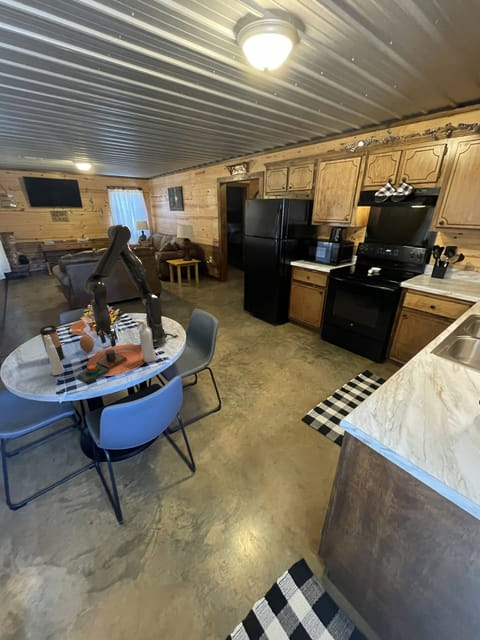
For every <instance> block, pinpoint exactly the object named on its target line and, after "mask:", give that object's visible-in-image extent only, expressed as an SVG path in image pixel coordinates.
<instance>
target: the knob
mask: <svg viewBox="0 0 480 640" xmlns="http://www.w3.org/2000/svg"><path fill="white" fill-rule="evenodd" d="M115 353H116V350H115V349H106V351H104V355H105V357H106V360H107V361H108V362H111V361H114V360H116V355H115Z"/></svg>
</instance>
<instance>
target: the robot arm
mask: <svg viewBox="0 0 480 640" xmlns="http://www.w3.org/2000/svg"><path fill="white" fill-rule="evenodd" d="M107 237H108V239H109V241H110V245H109V247H108V248H107V249H106V251H105V252H104V253H103V254H102V255H101V257H100V258H99V260H98V262H97V264H96V266H95V268H94V270H93V272H92V273H91V274H90V275H89V277H87V279H86V281H85V282H84V285H83V286H84V287H83V288H84V291H85V292H86V293H87V294H91V295H93V299H91V301H90V305H91V309H92V315H93V319H94V323H95V326H94V327H95V328H94V329H95V331H96V332H95V333H96V336H98V337H99V339H100V341H101V344H106V343H107V340H106V338H107V339H109V341H110V345H111V347H112V348H115V347H116V346H117V344H116V341H117V340H118V336H117V332H116V329H115V328H113V329H112V328H111V326H112V324H113V322H112V318H111V313H110V311H109V308H108V303H107V294H108V293H107V287H106V285H105V283H104V282H103V281H105V280H108V279H109V277H110V275H111V273H112V271H113V268H114V266H115V263H117V260H118V258H119V257H120V260H121V262H122V263H123V265H124V268H125V270H126V272H127V274H128V276H129V278H130V280H131V281H132V284H133V285H134V287H135V288H136V289H137V291H138V294H139V297H140V299H141V303H142V305H143V307H144V308H145V312H146V313H145V314H146V316H145V320H146V322H147V324H146V326H148V327H149V328H151V331H152V342H153V348H161V347H163V346H164V345H165V344H166V343H167V341H166V339H167V338H168V336H171V337H173V338H177V337H178V334H175V335H173V334H172V333H167V332H165V329H164V326H163V318H162V317H163V316H162V315H163V311H162V310H163V309H162V302H161V300H160V298H158V296H156V295H155V293H154V292H153V289H152V287H151V286H150V283H149V278H148V274H147V272H146V268H145V267H144V265H143V263H142V261H141V260H140V259H139V258H138V256H137V255H136V254H134V252H133V251H132V249H131V248H130V247H129V244H128V243H129V241H130V240H131V237H132V232H131V229H130V228H129V226H127V225H126V224H115V225H110V226H109V227H108V228H107ZM149 328H148V329H149Z"/></svg>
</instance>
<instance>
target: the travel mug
mask: <svg viewBox="0 0 480 640" xmlns="http://www.w3.org/2000/svg"><path fill="white" fill-rule="evenodd" d="M39 334H40V337H41V339H42V342H43V346H44V349H45V352H46V354H47V355H48V353H47V350H46V343H45V340H44V338H45V337H44V336H45V335H50V337H51V340H52V343H53V345H54V346H55V348H56V351H57V353H58V356H59V359H60V361H62V360H64V359H65V355H64V350H63V347H62V346H63V345H62V342H61V339H60V337H59V333H58V329H57V326H56V325H45V326H43V327H40V329H39Z"/></svg>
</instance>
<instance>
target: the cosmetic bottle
mask: <svg viewBox="0 0 480 640" xmlns="http://www.w3.org/2000/svg"><path fill="white" fill-rule="evenodd" d="M44 337H45V338H44V340H45V343H46V349H45V351H46V350H47V352H46V354H47V353H48V354H47V357H48V360H49V365H50V370H51V371H50V372H51V375H52V376H59V375H62V374H63V373H65V372H66V370H65V368H64V366H63V363H62V362H61V361H62V360H61V361H60V359H59V356H58V353H57V351H56V348H55V346H54V345H53V343H52V340H51V337H50V335H45V336H44Z"/></svg>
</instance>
